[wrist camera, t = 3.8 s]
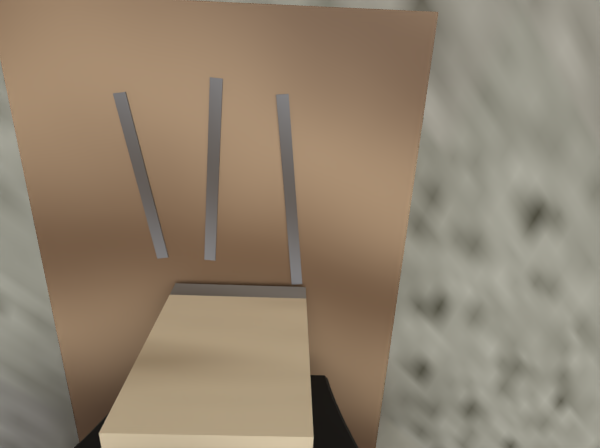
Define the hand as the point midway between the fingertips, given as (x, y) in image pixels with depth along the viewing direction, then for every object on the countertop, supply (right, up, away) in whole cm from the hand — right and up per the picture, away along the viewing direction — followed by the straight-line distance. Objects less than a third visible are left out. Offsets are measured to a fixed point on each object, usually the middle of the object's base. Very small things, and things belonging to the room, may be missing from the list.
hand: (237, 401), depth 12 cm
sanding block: (0, 0, +1) cm, 1 cm away
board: (0, +4, +1) cm, 4 cm away
